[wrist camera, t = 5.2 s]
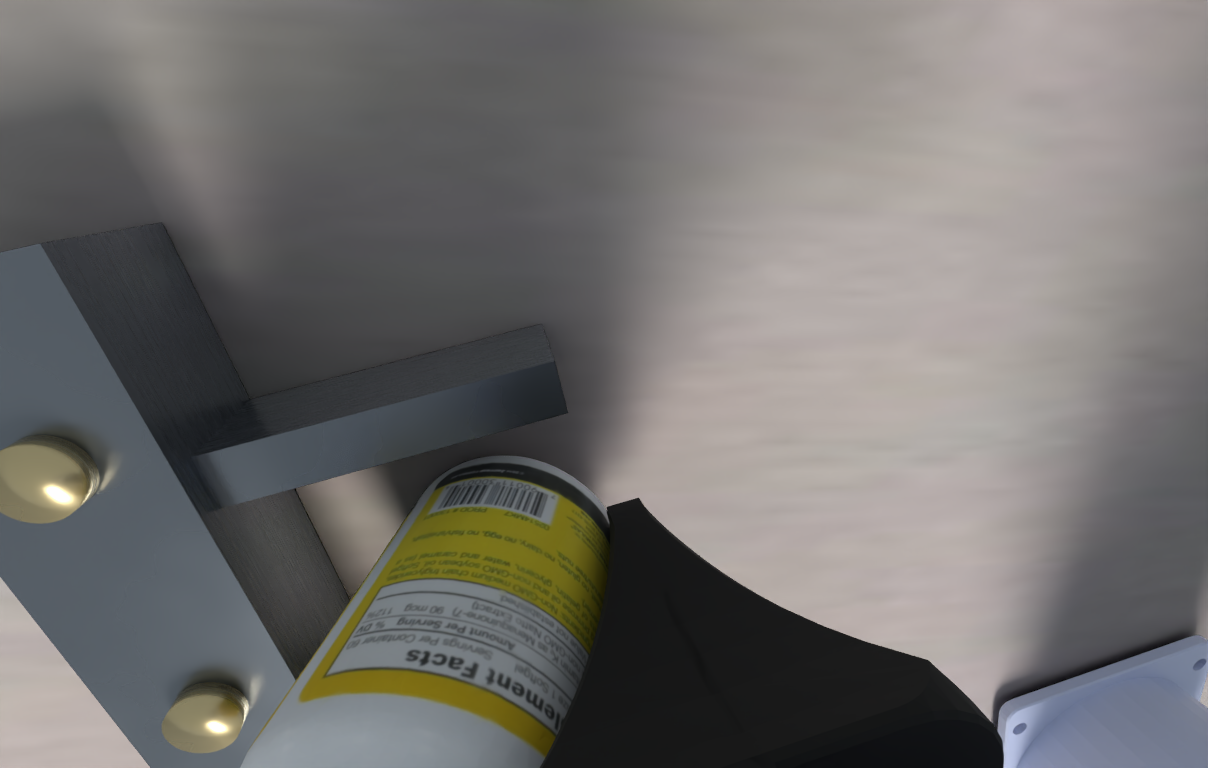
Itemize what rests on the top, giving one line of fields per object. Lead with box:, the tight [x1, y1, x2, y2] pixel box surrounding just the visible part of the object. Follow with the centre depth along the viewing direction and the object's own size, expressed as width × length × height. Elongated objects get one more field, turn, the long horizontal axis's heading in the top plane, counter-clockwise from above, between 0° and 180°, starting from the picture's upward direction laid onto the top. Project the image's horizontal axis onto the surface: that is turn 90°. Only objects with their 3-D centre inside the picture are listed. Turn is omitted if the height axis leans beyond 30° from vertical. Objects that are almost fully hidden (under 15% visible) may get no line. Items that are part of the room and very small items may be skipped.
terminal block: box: [0, 223, 568, 768], centre depth 12 cm, size 16×9×3 cm, turn 12°
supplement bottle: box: [240, 455, 610, 768], centre depth 9 cm, size 5×5×8 cm
